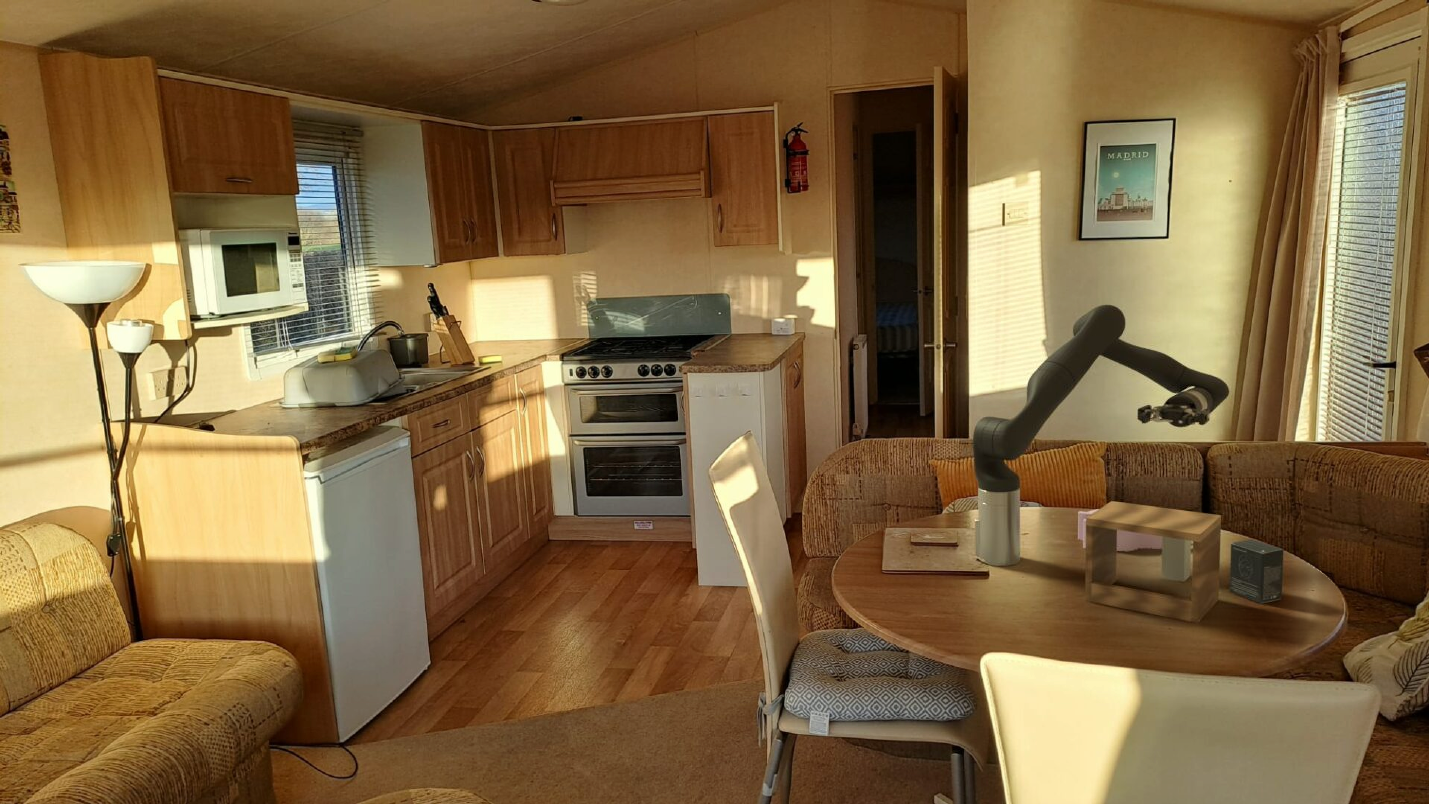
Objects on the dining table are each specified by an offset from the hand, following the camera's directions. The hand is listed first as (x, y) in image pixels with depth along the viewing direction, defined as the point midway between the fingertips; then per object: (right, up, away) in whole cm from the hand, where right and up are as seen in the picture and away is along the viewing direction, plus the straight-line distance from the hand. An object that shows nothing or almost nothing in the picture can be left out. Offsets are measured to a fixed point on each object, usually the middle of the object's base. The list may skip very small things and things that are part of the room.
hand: (1163, 420), depth 222 cm
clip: (-1, -30, +18) cm, 35 cm away
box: (+11, -35, -18) cm, 41 cm away
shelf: (-10, -36, -17) cm, 41 cm away
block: (0, -33, -5) cm, 34 cm away
